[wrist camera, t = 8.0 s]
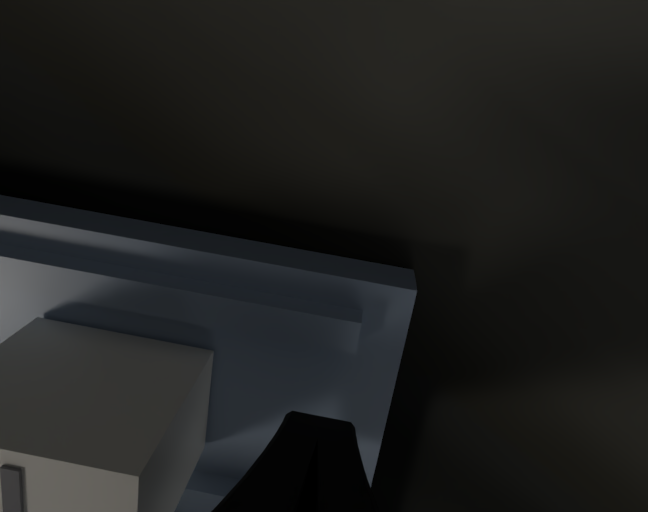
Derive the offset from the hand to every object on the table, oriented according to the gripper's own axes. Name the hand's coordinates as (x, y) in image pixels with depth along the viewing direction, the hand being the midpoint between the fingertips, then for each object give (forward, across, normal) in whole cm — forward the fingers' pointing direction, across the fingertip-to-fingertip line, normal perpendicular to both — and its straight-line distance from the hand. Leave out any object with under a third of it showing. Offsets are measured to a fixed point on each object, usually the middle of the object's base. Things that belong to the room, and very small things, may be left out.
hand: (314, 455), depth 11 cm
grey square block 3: (+1, +5, 0) cm, 5 cm away
